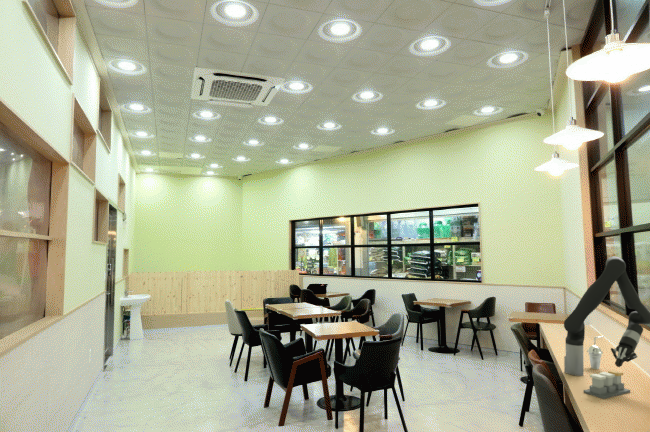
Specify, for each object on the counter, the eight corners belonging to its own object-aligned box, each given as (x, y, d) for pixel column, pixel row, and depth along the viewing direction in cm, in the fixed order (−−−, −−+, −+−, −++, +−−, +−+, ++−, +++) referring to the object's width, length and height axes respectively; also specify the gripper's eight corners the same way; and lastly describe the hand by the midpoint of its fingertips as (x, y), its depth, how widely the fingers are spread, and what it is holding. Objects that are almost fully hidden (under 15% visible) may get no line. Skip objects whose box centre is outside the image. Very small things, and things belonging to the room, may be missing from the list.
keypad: (603, 399, 215) (603, 390, 215) (583, 392, 224) (583, 384, 224) (630, 392, 226) (630, 384, 226) (610, 386, 235) (610, 378, 235)
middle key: (609, 387, 222) (609, 375, 222) (599, 384, 226) (599, 372, 227) (614, 386, 224) (614, 374, 224) (604, 383, 229) (604, 371, 229)
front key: (600, 389, 218) (600, 377, 218) (590, 386, 222) (590, 374, 223) (605, 388, 220) (605, 376, 221) (595, 385, 225) (595, 373, 225)
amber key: (618, 385, 226) (617, 373, 226) (608, 382, 230) (607, 371, 230) (623, 384, 228) (623, 372, 228) (613, 381, 232) (613, 370, 233)
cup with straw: (587, 365, 276) (586, 333, 278) (604, 367, 272) (603, 335, 273) (587, 368, 269) (586, 335, 270) (604, 371, 265) (604, 337, 266)
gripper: (613, 333, 241) (601, 358, 235) (640, 338, 230) (628, 364, 223) (619, 342, 244) (607, 367, 237) (646, 347, 232) (634, 373, 225)
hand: (617, 365), depth 230 cm, fingers closed
